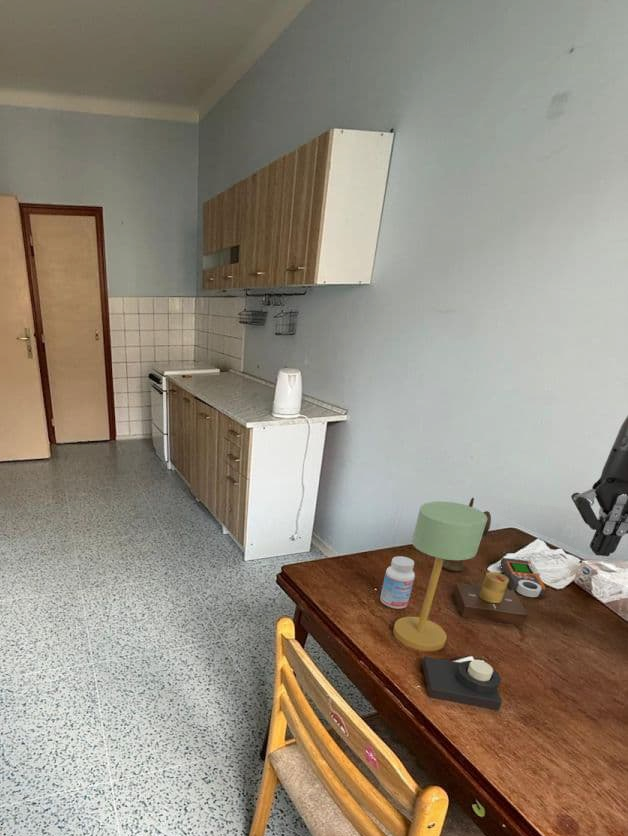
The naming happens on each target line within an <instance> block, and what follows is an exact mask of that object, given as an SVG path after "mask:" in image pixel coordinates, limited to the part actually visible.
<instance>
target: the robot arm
mask: <svg viewBox="0 0 628 836" xmlns="http://www.w3.org/2000/svg"><path fill="white" fill-rule="evenodd" d="M570 498H571V500H572V502H573V504H574V505H575V508H576V509H577V511H578V512H579V515H580V517H581V518H582V520H583V521H584V523H585V524H586V525H587V526H589V528H590V529H591V530H593V531H595V532H594V534H593V536H592V539H591V541H590V543H589V548H590V549H591V551H592V552H593V553H594V554H595V556H601V557H609V556H610V554H613V553H614V552H616V550H617V548H618V546H619V544H620V542H621V541H622V540H621V539H622V538H623V536H625V535H628V415H627V416H626V418H625V419H624V420H623V422H622V424H621V425H620V428H619V430H618V433H617V435H616V437H615V440H614V442H613V444H612V447H611V449H610V451H609V453H608V456H607V459H606V461H605V463H604V465H603V468H602V471H601V475H600V477H599V479H598V480H597V481H596V482H594V483H593V485H592V486H591V489H589V490H586V491H583V492H581V493H580V492H574V493H573V494H572V495H571V497H570ZM595 499H596V502H597V504H598V505H599V509H598V517H597V516H596V513H595V512H594V509H593V508H592V506H594V504H595Z"/></svg>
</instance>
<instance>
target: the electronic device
mask: <svg viewBox="0 0 628 836" xmlns="http://www.w3.org/2000/svg"><path fill="white" fill-rule="evenodd" d="M500 564H501V567H502V569H501V571H502V574H503V575H505V576H507V577H508V578H509V582H508V584H507V585H508V586H509V588H510V590H514V592H517V593H518V594H519V595H522V596H524V597H527V598H537V597H539V595H541V596H544V594H545V593H546V590H547V588H546V586H545V584H544V582H543V581H542V579H541V577H540V575H541V574H540V572H539V571H538V569H537V567H536V565H535V564H534V563H532V561H530V560H525V559H517V558H509V557H501V559H500V562H499V565H500ZM501 567H500V568H501Z"/></svg>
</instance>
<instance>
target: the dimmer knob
mask: <svg viewBox="0 0 628 836" xmlns="http://www.w3.org/2000/svg"><path fill="white" fill-rule="evenodd" d="M508 582H509V578H508V577H507V576H505V575H504V573H501V572H497V571H489V572H486V573H485V576H484V578H483V582H482V585H481V586H482V587H481V590H480V593H479V597H480V598H481V599H483V600H485V601H487V602H491V603H499V602H501V601H502V598H503V595H504V592H505V590H506V589H507V587H508V585H509V584H508Z"/></svg>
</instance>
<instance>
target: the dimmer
mask: <svg viewBox="0 0 628 836" xmlns="http://www.w3.org/2000/svg"><path fill="white" fill-rule="evenodd" d="M481 587H482V585H476V584H475V585H474V584H467V583H458V582H456V583H455V586H454V589H453V592H452V594H453V598H454V600H455V602H456V605H457V608H458V611H459V613H460V617H462V618H467V619H474V620H481V621H488V622H495V623H502V624H508V625H515V626H521V627H523V626H524V624H525V622H526V619H527V618H528V613H527V611H526V609H525V608H524V606H523V603H522V602H521V601H520V599H519V597H518V595H517V593H516V591H514V590H511V589H507V588H506V590H505V592H504V595H503V598H502V601H501V602H499V603H491V602H487V601H485V600H483V599H481V598H480V597H479V593H480V590H481Z"/></svg>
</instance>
